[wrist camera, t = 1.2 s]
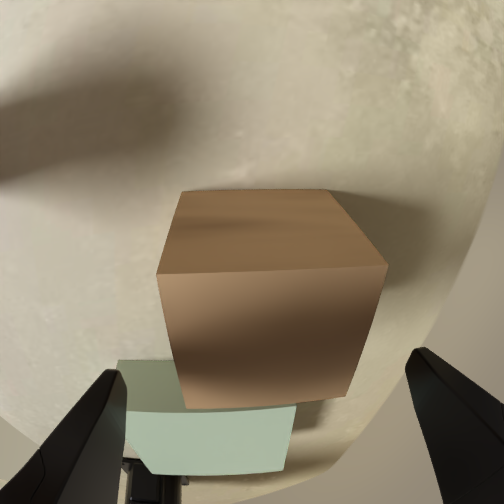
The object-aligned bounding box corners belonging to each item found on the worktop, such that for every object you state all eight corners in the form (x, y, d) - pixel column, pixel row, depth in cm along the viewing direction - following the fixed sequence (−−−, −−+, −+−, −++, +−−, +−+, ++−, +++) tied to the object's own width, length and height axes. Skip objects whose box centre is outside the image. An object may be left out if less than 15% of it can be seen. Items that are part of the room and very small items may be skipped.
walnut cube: (311, 301, 16) (345, 396, 11) (193, 306, 16) (186, 408, 11) (326, 189, 13) (388, 265, 8) (181, 191, 13) (156, 274, 8)
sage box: (276, 428, 23) (282, 470, 20) (155, 432, 23) (152, 473, 19) (284, 350, 18) (296, 405, 15) (119, 355, 18) (106, 409, 14)
